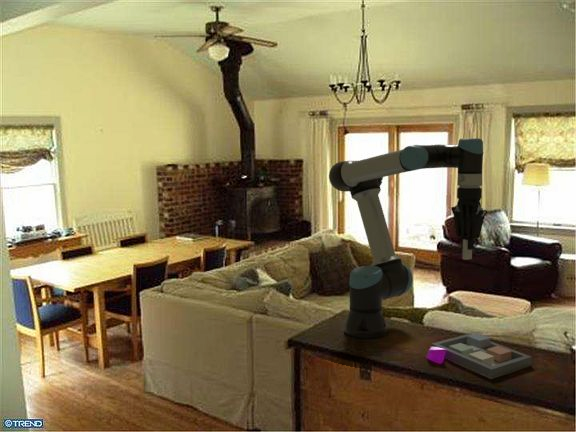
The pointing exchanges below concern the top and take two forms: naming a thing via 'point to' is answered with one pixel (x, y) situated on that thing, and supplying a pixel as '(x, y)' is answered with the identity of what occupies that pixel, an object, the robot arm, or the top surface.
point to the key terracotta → (499, 353)
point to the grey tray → (489, 371)
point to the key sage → (462, 349)
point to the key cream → (482, 357)
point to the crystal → (436, 354)
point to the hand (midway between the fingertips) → (467, 258)
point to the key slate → (478, 340)
